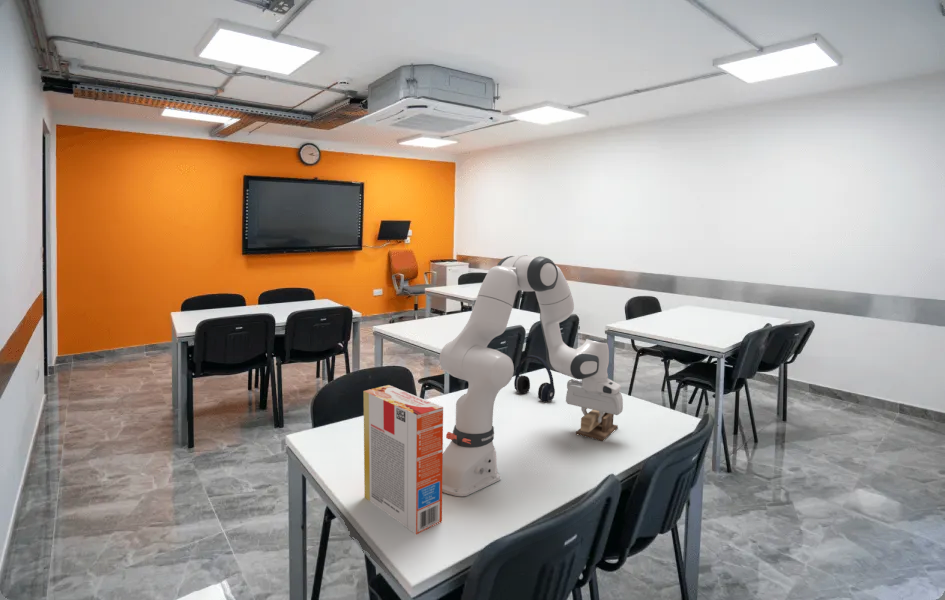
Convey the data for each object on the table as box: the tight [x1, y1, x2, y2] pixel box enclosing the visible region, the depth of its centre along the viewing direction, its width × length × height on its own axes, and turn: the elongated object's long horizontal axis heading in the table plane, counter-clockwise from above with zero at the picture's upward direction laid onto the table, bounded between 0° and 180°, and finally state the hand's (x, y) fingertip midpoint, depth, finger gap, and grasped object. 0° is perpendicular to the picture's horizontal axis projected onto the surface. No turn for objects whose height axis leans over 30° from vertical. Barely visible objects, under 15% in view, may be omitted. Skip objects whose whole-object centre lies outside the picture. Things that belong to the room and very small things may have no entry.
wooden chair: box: [575, 413, 619, 442], centre depth 189 cm, size 15×10×12 cm, turn 145°
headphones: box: [513, 355, 556, 403], centre depth 226 cm, size 20×7×18 cm, turn 42°
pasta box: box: [363, 384, 444, 535], centre depth 134 cm, size 23×8×30 cm, turn 44°
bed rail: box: [580, 409, 605, 432], centre depth 186 cm, size 15×3×5 cm, turn 145°
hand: (592, 420), depth 186 cm, fingers closed on bed rail, 3 cm apart
